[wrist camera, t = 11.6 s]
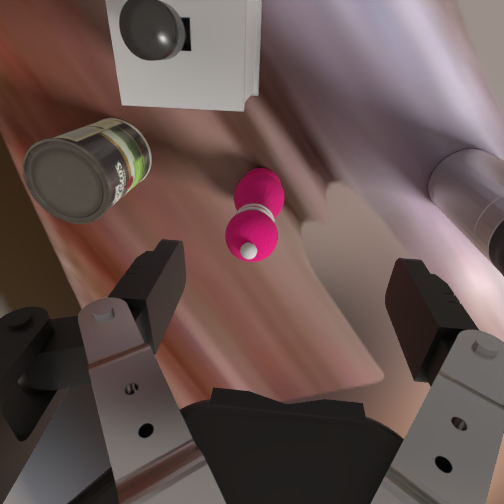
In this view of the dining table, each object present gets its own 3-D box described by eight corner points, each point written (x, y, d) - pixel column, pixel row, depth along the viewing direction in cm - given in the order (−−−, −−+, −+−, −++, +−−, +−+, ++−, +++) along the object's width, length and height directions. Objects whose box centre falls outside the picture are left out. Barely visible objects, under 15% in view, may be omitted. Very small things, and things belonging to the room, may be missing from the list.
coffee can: (159, 135, 48) (117, 163, 36) (143, 195, 53) (102, 236, 41) (91, 104, 47) (23, 122, 35) (81, 168, 52) (20, 203, 40)
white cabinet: (264, -62, 36) (250, -130, 22) (258, 94, 44) (245, 113, 30) (157, -64, 37) (81, -131, 23) (171, 90, 45) (120, 107, 31)
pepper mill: (233, 168, 50) (205, 228, 33) (281, 160, 48) (277, 219, 31) (243, 211, 53) (222, 286, 36) (287, 205, 52) (287, 280, 35)
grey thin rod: (247, -5, 38) (209, -60, 19) (245, 81, 42) (213, 104, 24) (172, -7, 38) (64, -62, 20) (179, 78, 43) (96, 98, 24)
